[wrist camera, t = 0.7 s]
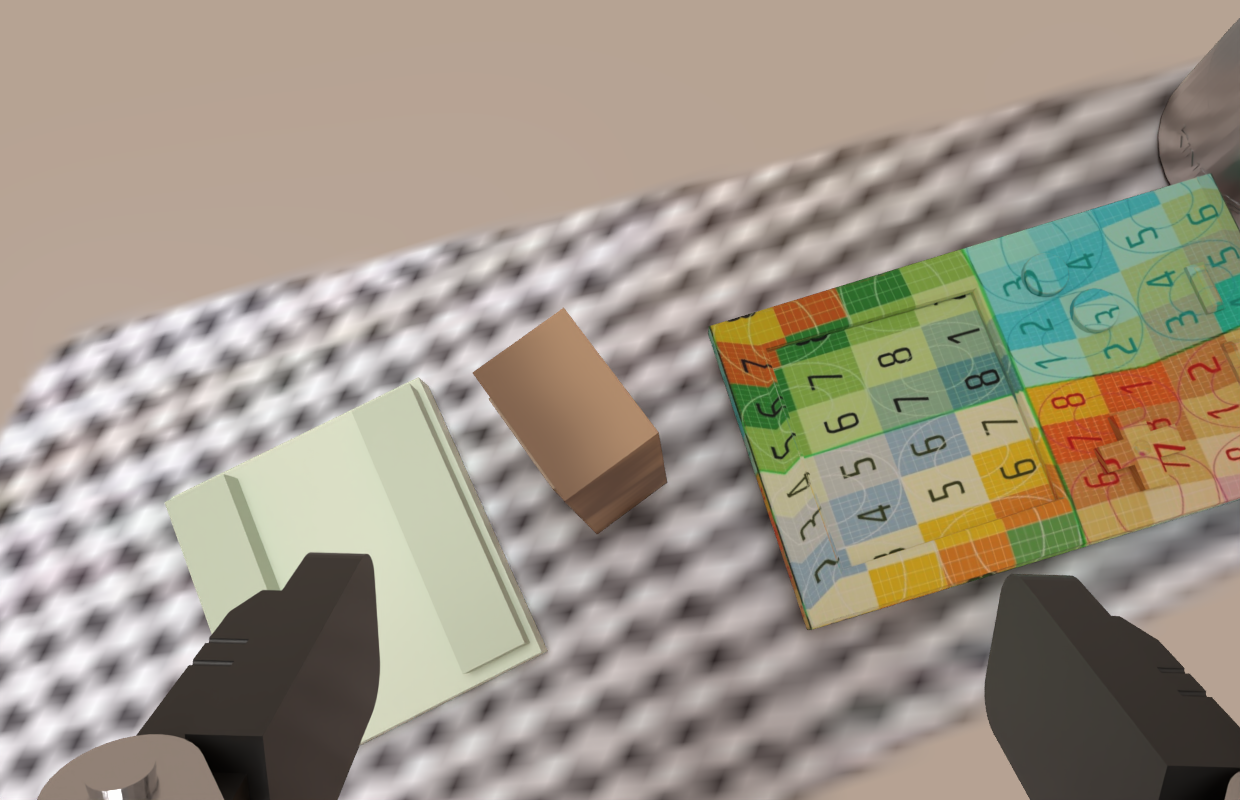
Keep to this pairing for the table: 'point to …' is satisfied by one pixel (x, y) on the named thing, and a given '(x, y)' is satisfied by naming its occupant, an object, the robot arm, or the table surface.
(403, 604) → the plinth
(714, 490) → the table surface
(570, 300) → the table surface
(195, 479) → the table surface
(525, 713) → the table surface
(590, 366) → the wooden block
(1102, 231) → the puzzle game
